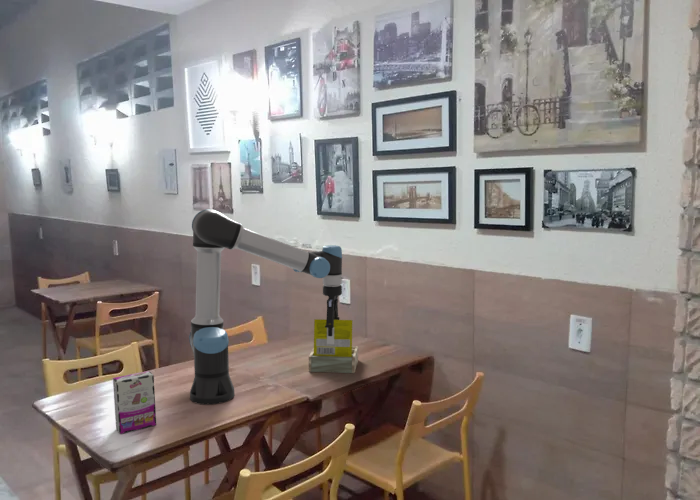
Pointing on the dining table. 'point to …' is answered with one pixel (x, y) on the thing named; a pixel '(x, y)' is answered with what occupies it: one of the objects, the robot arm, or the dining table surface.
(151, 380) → the candy bar box
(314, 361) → the rack
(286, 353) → the dining table surface
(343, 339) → the food package
